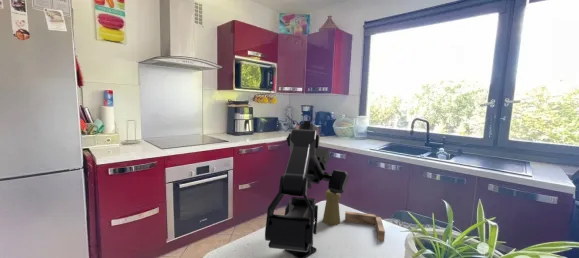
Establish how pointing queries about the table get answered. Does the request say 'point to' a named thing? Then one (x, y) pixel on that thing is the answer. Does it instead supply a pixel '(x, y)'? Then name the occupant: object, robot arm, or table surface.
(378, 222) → the v block
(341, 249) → the table surface
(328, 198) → the olive yellow tapered cone
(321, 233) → the table surface
